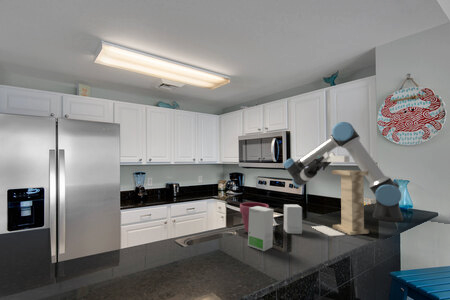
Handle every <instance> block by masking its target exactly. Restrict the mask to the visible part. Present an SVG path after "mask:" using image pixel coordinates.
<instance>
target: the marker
mask: <svg viewBox="0 0 450 300" xmlns="http://www.w3.org/2000/svg"><path fill="white" fill-rule="evenodd" d="M320 157H321V156H318V158H320ZM323 162H331V163H350V155H335V156H329V157H328V158H327V159H325V160H324V161H323Z"/></svg>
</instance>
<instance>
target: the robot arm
mask: <svg viewBox="0 0 450 300" xmlns="http://www.w3.org/2000/svg"><path fill="white" fill-rule="evenodd" d="M329 136H330V137H329V138H327V139H326V140H325V141H323V142H322V143H321V144H319V145H318V146H316V147H315V148H313V149H312V150H311V151H309V152H307V153H306V154H304V155H303V156H302V157H300V158H299V159H298V160H296V161H295V160H294V158H288V159H286V160H285V161H284V162H283V167H284V168H285V169H286V170H287V172H288V173H289V175H290V176H291V177H292V181H291V182H292V184H293V186H295V187H296V188H301V187H303V186H304V185H306V184H307V183H308V182H309V181H310V180H312V179H314V178H315V177H316V176H317V173H319V171H320V170H322V171H324V170H325V169H326V168H327V167H328V166H329V165H331V164H332V162H323V161H324V160H325V159H327V158H328V157H329V156H336V154H335V152H333V150H334V149H336V148H338V147H339V148H340V147H341V148H343V149H345V150H346V151H347V152H348V154H349V156H350V157H351V158H352V160H353V161H354V163H355V164H356V166H357V167H358V168H359V169H360V170H359V171H368V175H366V176H364V177H365V178H366V180H367V181H368V183H369V186H368V187H369V189H370V190H371V192H372V193H373V195H374V197H375V207H374V210H373V213H372V218H373V219H376V220H378V221H379V220H380V221H385V222H393V223H394V222H395V223H397V222H398V223H400V222H403V221H404V216H403V214H402V211H401V208H400V201H401V199H402V191H401V190H400V184H399V181H396V180H392V179H391V177H390V176H386V175H385V174H384V172H383V171H382V170H381V168H380V167H379V165H378V164H377V163H376V162H375V160H374V159H373V157H372V156H371V155H370V153H369V152H368V151H367V149H366V148H365V146H364V145H363V144H362V142H361V140H360V139H361V137H360V135H359V134H358V132H357V131H356V129H355V128H354V126H353V125H352V124H351V123H350V122H347V121H339V122H338V123H336V124H335V125H333V127H332V130H331V135H329ZM330 152H331V153H330ZM329 153H330V154H329ZM318 156H321V157H320V158H318Z"/></svg>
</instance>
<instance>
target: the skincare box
mask: <svg viewBox="0 0 450 300" xmlns="http://www.w3.org/2000/svg"><path fill="white" fill-rule="evenodd" d="M274 211H275V209H273V208H266V207H260V206H255V207H251V208H249V228H248V232H247V234H248V235H247V246H248V247H250V248H254V249H255V250H260V251H262V252H265V251H268V250H270V249H272V248H273V241H274V240H273V236H274V213H275V212H274Z"/></svg>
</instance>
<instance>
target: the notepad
mask: <svg viewBox="0 0 450 300" xmlns="http://www.w3.org/2000/svg"><path fill="white" fill-rule="evenodd" d="M311 227H312V228H311V229H313V228H314V229H313V230H315V229H316V231H318V232H320V233H323V234H325V235H326V236H328V237H340V236H346V233H344V232H341V231H339V230H336V229H334V228H332V227H328V226H325V225H316V226H311Z"/></svg>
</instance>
